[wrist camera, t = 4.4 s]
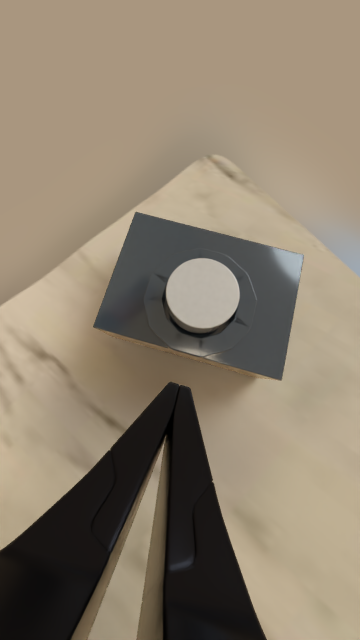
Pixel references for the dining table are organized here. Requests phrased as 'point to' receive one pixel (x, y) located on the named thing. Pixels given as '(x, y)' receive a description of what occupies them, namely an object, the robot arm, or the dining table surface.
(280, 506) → the dining table surface
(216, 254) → the grey push button box
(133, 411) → the dining table surface
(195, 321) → the white push button
